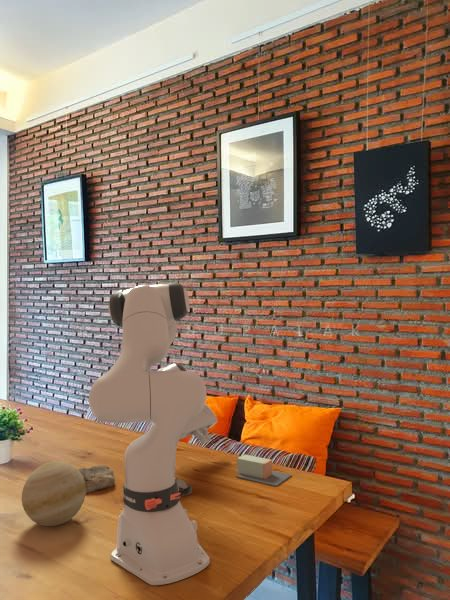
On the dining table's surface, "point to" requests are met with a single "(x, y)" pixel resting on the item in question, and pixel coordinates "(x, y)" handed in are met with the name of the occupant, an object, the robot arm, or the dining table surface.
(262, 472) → the block
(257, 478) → the mat
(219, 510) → the dining table surface
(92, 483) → the grey rock
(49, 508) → the decorative ball
